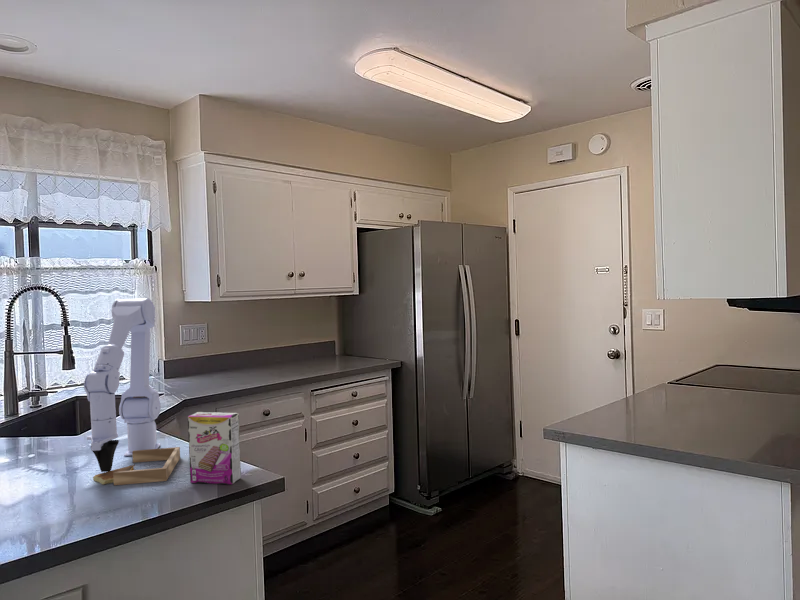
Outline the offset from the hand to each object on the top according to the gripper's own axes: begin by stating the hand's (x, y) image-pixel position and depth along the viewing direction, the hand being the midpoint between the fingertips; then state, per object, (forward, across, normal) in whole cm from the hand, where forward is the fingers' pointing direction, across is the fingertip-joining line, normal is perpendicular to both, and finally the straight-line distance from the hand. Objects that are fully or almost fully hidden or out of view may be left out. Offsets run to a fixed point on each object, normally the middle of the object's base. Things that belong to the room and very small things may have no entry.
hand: (106, 470), depth 151 cm
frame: (+1, 0, +10) cm, 10 cm away
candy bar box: (+1, +13, +28) cm, 31 cm away
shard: (+2, +2, +2) cm, 4 cm away
